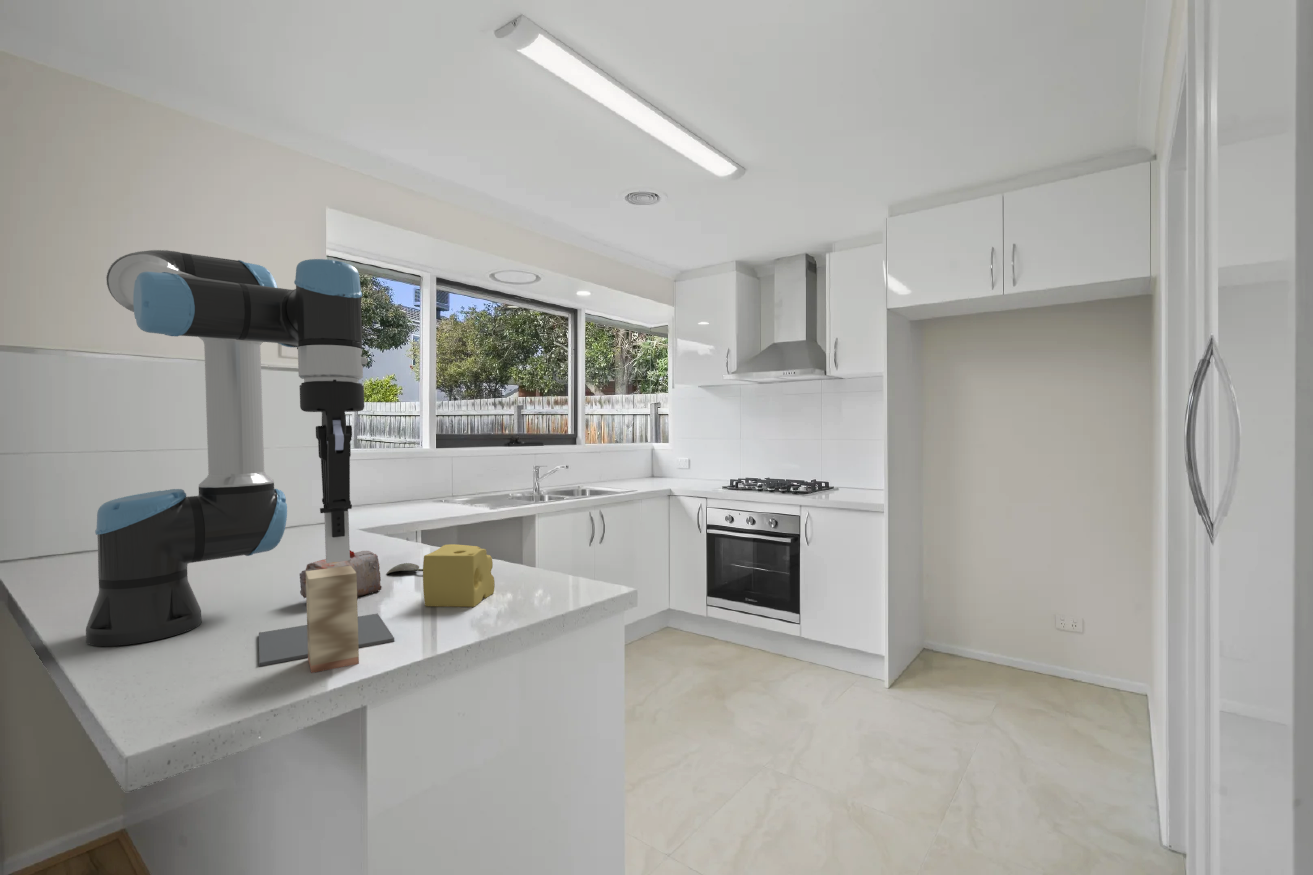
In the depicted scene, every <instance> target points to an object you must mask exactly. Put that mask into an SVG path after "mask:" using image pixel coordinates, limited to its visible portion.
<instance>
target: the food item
mask: <svg viewBox="0 0 1313 875" xmlns="http://www.w3.org/2000/svg"><path fill="white" fill-rule="evenodd" d="M344 566H352V568H353V569H354V570H355V572H356V575H357V598H358V597H362V596H367V595H369V594H374V593H377V592H379V591H381V590H382V588H383V586H382V585H381V581H382V580H381V571H380V562H379V558H378V554H377V553H374V552H372V551H370V550H361V551H356V552H355V551H352V550H351V549H350V560H348V561H340V562H332V563H327V562H326V558H324V559H320V560H317V561H313V562H309V563H308V564H306V568H305V569H304V570H302V571H301V572H300V573H299V582H300V591H299V593H300V596H302V597H303V599H306V571H311V570H320V569H328V568H336V567H344Z"/></svg>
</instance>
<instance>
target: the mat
mask: <svg viewBox="0 0 1313 875" xmlns="http://www.w3.org/2000/svg"><path fill="white" fill-rule="evenodd" d="M392 642H395V636H393V634H392V632H391V631H390V630H389V628H388V626H387V625H386V623H385V622H384V621H383V619H382V618H381V616H380V614H379V613H371V614H366V615H359V616H358V647H359V649H360V648H367V647H371V646H376V645H381V644H387V643H392ZM258 650H259V651H258V654H259V655H258V656H259V667H265V666H269V665H274V664H279V663H285V662H290V661H296V660H301V659H302V660H303V659H308V637H307V624H305V625H299V626H291V627H284V628H279V629H273V630H267V631H261V632H258Z"/></svg>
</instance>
